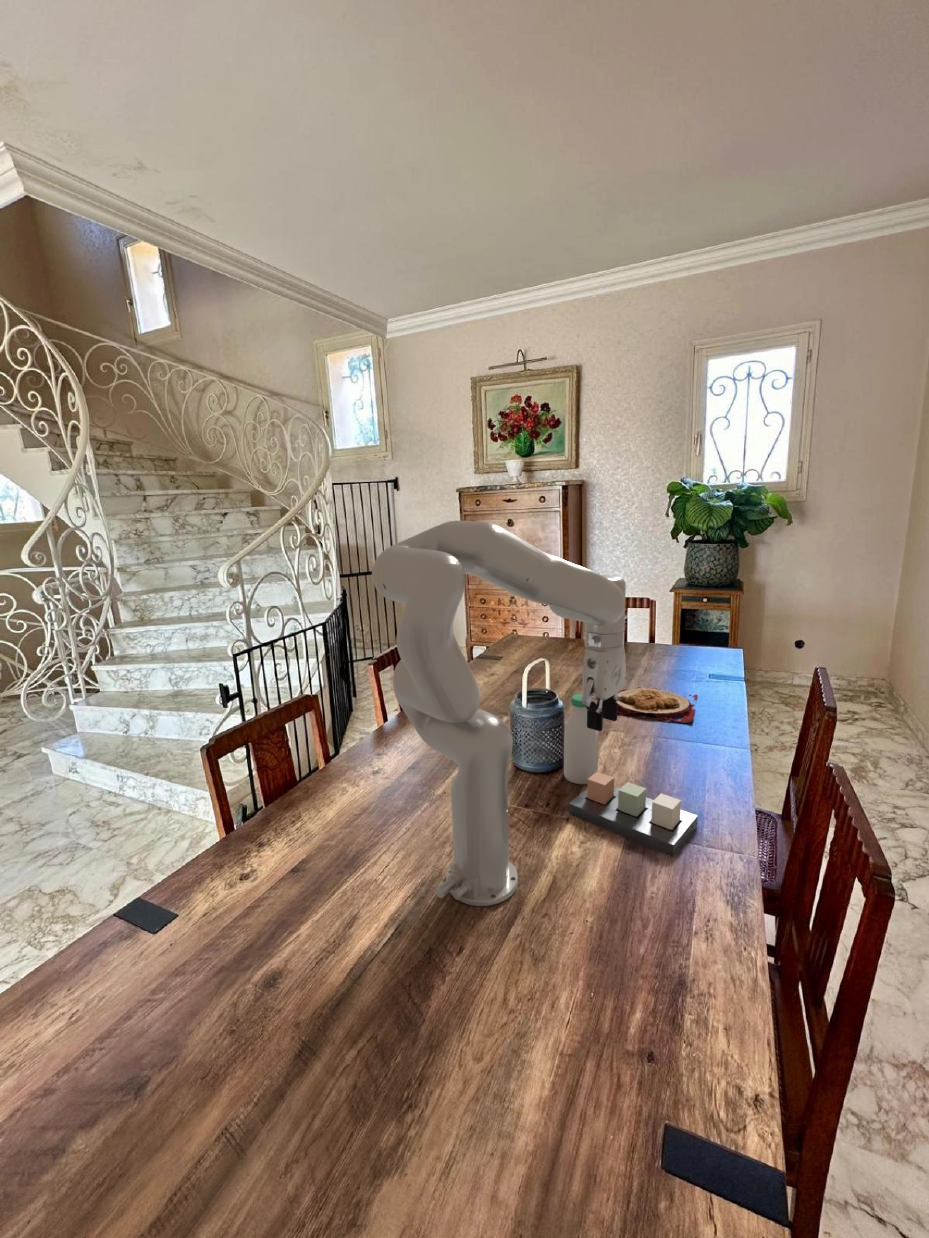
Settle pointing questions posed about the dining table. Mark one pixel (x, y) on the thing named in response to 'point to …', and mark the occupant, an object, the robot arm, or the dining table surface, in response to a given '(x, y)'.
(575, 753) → the milk bottle
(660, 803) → the ivory key
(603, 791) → the terracotta key
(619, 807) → the sage key
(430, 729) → the robot arm
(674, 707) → the plate with food
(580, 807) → the panel
